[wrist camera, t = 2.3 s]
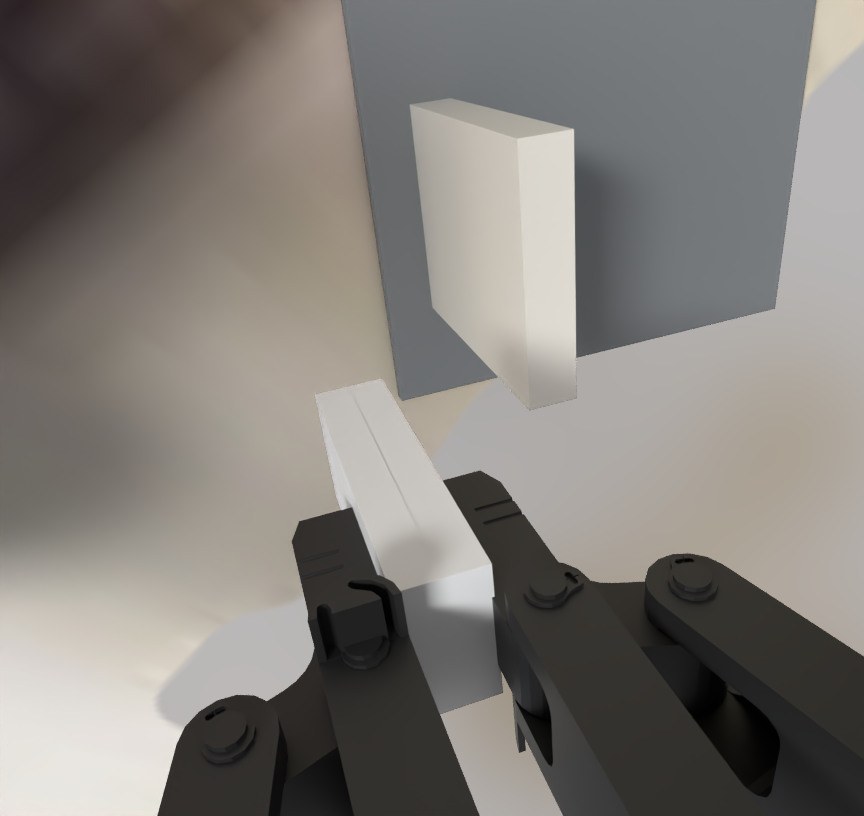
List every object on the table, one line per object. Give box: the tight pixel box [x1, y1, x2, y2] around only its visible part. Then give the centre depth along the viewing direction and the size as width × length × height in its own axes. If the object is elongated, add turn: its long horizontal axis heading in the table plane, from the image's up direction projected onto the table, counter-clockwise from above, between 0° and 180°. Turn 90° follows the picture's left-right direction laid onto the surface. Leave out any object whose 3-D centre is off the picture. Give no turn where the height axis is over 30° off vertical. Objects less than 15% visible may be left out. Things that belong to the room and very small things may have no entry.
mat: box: [341, 0, 816, 401], centre depth 35 cm, size 22×18×1 cm
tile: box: [410, 98, 577, 410], centre depth 28 cm, size 2×9×11 cm, turn 6°
